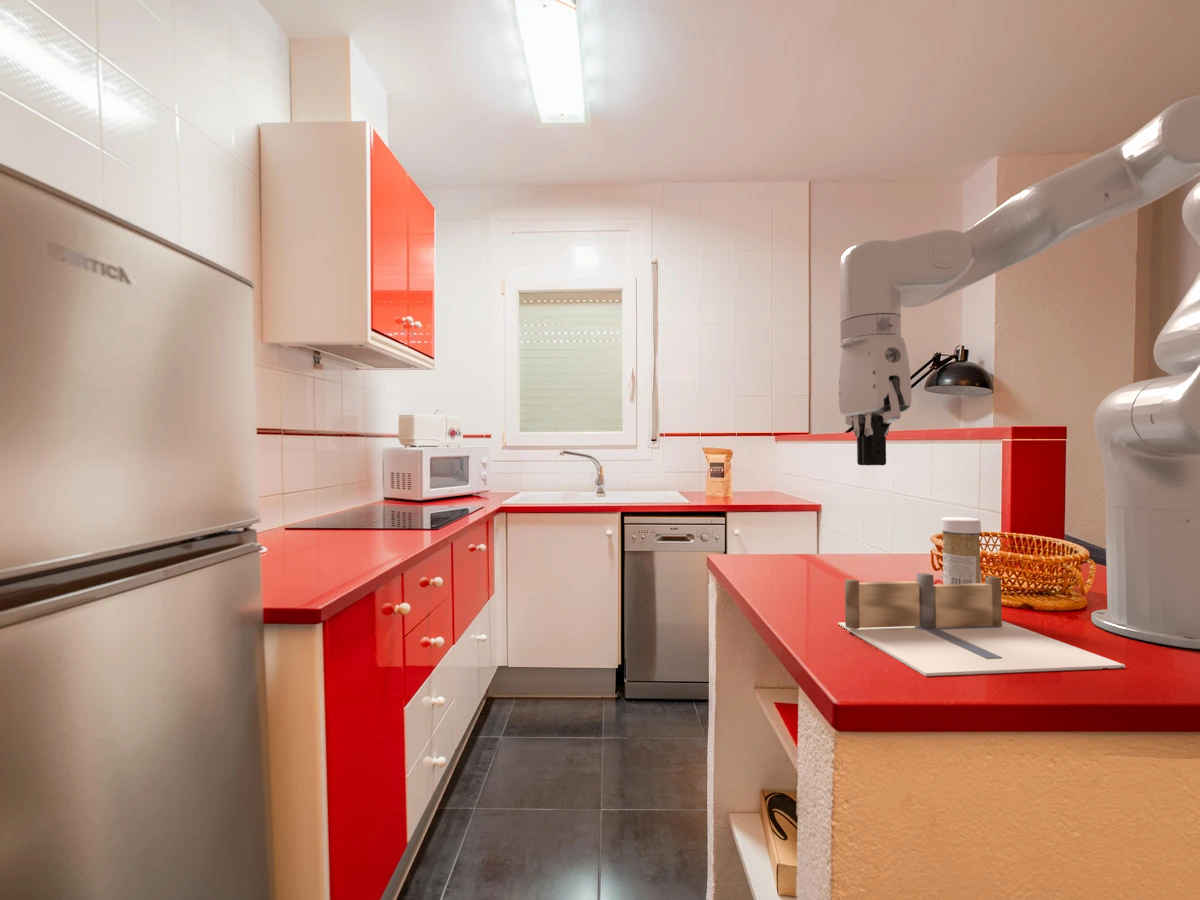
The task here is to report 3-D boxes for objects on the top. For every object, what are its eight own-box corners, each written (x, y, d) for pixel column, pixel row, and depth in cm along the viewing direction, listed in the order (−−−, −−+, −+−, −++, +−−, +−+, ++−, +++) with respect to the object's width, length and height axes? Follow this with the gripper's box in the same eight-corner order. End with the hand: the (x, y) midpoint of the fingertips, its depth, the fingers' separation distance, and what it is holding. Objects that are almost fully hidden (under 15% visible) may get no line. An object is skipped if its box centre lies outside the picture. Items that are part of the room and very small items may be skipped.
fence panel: (912, 622, 66) (911, 577, 66) (921, 626, 64) (920, 580, 64) (842, 624, 65) (842, 579, 65) (850, 629, 63) (849, 582, 63)
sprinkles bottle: (988, 614, 71) (986, 518, 71) (974, 620, 68) (972, 520, 69) (951, 607, 75) (949, 515, 75) (936, 612, 72) (935, 517, 73)
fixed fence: (993, 625, 67) (992, 571, 67) (1005, 629, 65) (1004, 574, 65) (914, 627, 66) (913, 573, 66) (924, 632, 64) (923, 576, 64)
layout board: (993, 619, 69) (993, 616, 69) (1124, 667, 53) (1124, 663, 53) (837, 624, 67) (837, 621, 67) (925, 676, 51) (925, 672, 51)
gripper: (934, 320, 64) (936, 465, 64) (863, 346, 79) (865, 464, 79) (878, 319, 64) (879, 465, 63) (817, 345, 79) (818, 464, 78)
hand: (871, 464), depth 71 cm, fingers closed
